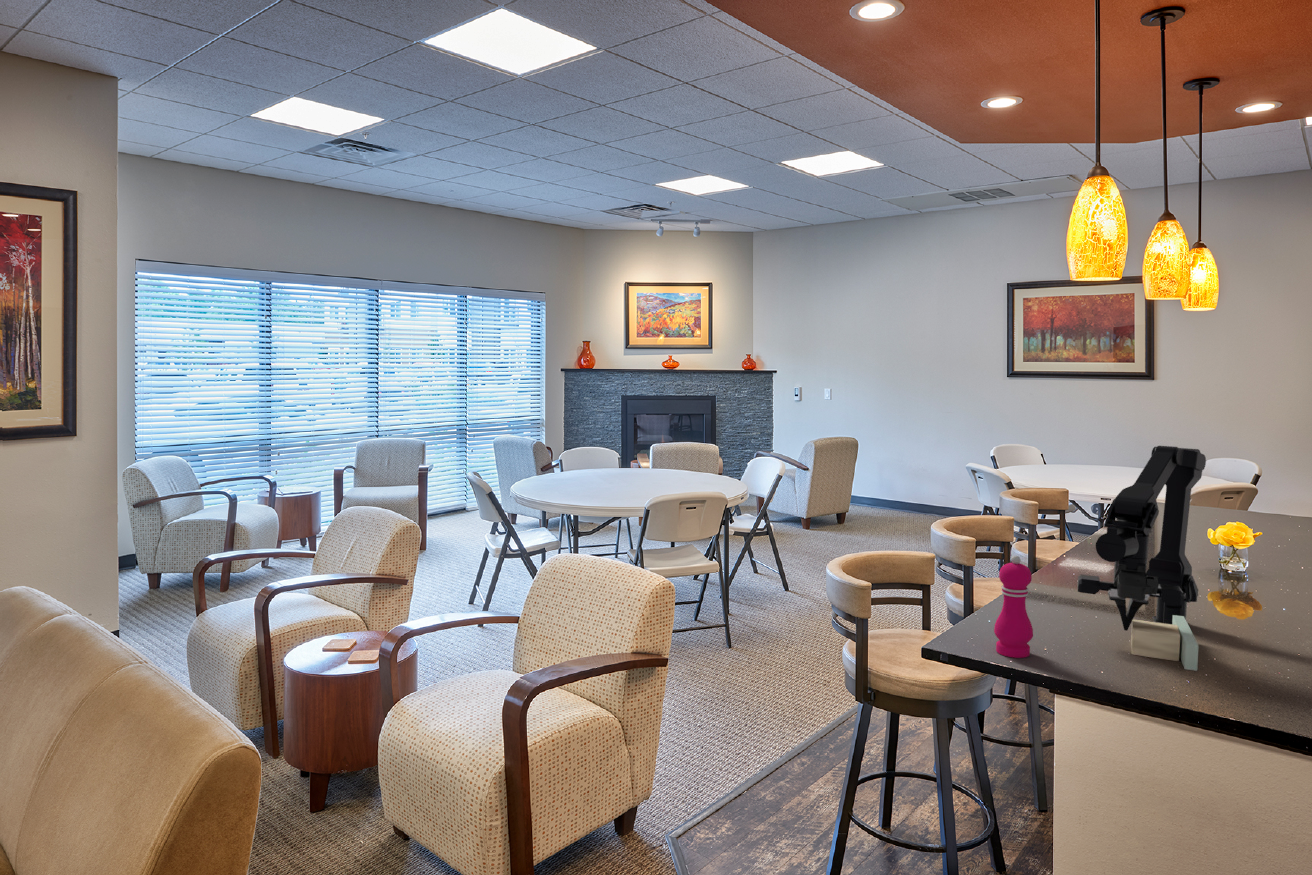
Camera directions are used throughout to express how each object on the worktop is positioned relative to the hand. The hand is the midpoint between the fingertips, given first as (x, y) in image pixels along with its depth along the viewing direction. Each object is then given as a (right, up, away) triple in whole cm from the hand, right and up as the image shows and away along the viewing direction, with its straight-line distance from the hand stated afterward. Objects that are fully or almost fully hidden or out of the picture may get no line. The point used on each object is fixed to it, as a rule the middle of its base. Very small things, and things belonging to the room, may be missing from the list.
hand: (1125, 629), depth 170 cm
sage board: (+9, -4, -5) cm, 11 cm away
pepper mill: (-25, -4, -4) cm, 26 cm away
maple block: (+4, -4, -4) cm, 6 cm away
